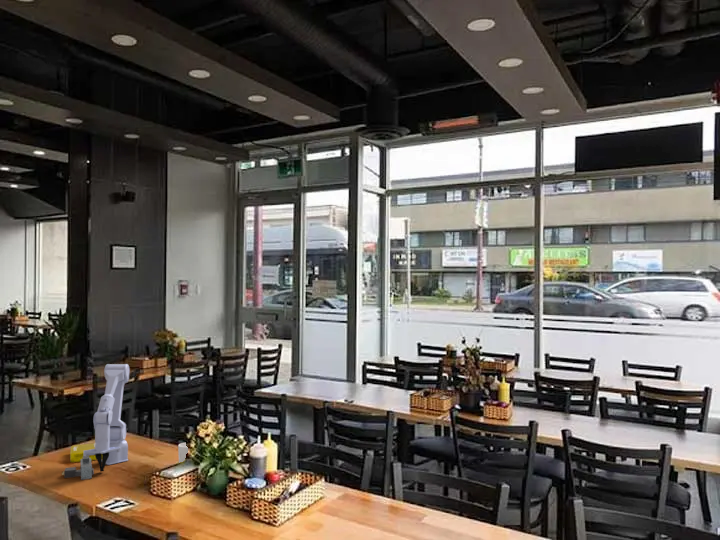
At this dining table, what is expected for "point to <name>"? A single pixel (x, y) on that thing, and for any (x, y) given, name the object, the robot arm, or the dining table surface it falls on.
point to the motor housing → (86, 468)
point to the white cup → (182, 451)
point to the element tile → (81, 452)
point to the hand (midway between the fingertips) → (101, 470)
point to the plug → (73, 472)
